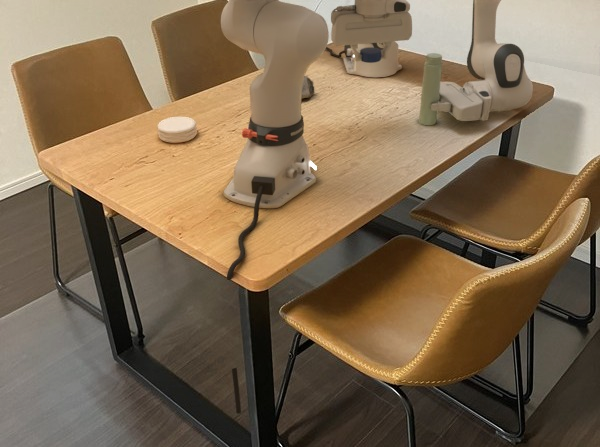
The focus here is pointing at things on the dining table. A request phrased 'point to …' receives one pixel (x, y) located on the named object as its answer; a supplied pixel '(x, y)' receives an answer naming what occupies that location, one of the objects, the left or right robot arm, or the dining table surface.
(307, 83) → the rock
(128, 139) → the dining table surface
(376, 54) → the lid
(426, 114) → the green bottle
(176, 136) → the white round tin
